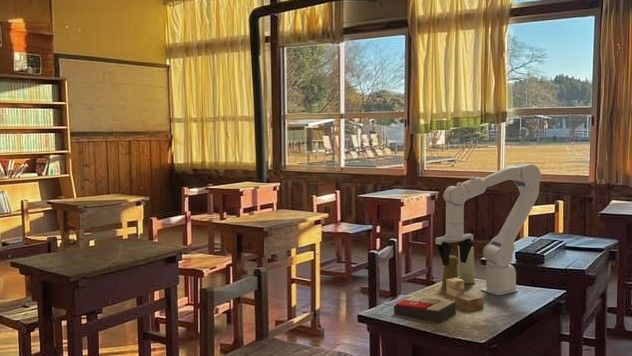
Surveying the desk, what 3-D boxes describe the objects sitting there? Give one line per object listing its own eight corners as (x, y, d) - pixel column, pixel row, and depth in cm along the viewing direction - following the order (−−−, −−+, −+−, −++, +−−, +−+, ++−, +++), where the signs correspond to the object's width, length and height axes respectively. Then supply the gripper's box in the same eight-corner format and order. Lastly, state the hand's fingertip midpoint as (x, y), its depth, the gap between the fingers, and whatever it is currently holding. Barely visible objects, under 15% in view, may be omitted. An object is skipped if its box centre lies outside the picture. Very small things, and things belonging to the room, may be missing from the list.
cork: (462, 286, 210) (462, 255, 209) (453, 290, 205) (453, 258, 204) (447, 284, 214) (447, 253, 213) (438, 287, 209) (438, 256, 209)
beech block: (455, 292, 203) (455, 277, 202) (464, 295, 199) (463, 280, 199) (446, 294, 201) (446, 279, 201) (454, 297, 197) (454, 281, 197)
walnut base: (469, 304, 190) (469, 293, 190) (483, 308, 185) (483, 297, 184) (455, 306, 187) (454, 295, 187) (468, 311, 182) (468, 300, 182)
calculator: (411, 294, 189) (455, 299, 180) (412, 308, 189) (456, 314, 180) (393, 303, 180) (438, 309, 171) (393, 317, 181) (439, 324, 171)
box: (472, 280, 218) (472, 245, 217) (474, 283, 213) (474, 247, 212) (457, 280, 218) (457, 245, 217) (459, 283, 214) (459, 247, 213)
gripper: (463, 219, 205) (462, 259, 206) (429, 223, 198) (429, 264, 199) (477, 222, 199) (477, 262, 200) (443, 225, 192) (443, 268, 193)
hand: (454, 263), depth 199 cm, fingers open, 7 cm apart
